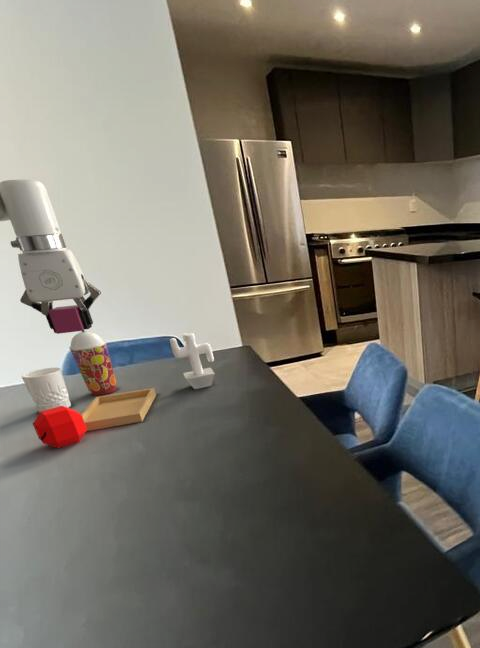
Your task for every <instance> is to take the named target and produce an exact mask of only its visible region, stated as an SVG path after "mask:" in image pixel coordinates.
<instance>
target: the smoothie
mask: <svg viewBox="0 0 480 648" xmlns="http://www.w3.org/2000/svg"><path fill="white" fill-rule="evenodd" d="M69 350H70V352H71V354H72V357H73V359H74V361H75V363H76V365H77V368H78V370H79V372H80V374H81V377H82V379H83V382H84V383H85V386H86V388H87V390H88V392H90V393H91V395H93V396H105V395H109V394H111V393H113V392H115V391H116V390H117V386H118V383H117V380H116V375H115V372H114V368H113V364H112V360H111V357H110V356H111V355H110V353H109V349H108V345H107V341H106V340H104V339H103V337H101V335H100V334H98V333H96V332H93V331H88V330H87V331H86V330H83V331H79V332H78V333H76V334H75V335H74V336H73V337H72V338H71V340H70V346H69Z"/></svg>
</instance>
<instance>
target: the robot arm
mask: <svg viewBox="0 0 480 648" xmlns="http://www.w3.org/2000/svg"><path fill="white" fill-rule="evenodd" d="M55 213H56V212H55V210H54V208H53V205H52V202H51V199H50V197H49V193H48V191H47V188H46V186H45V184H43V183H42V182H41V181H39V180H37V179H6V180H2V181H0V222H6V221H10V223H11V226H12V229H13V231H14V235H15V236H16V237H15V240H10V246H11V247H12V248H13V249H15V248H16V249H19V251H20V252H21V253H17V259H18V265H19V270H20V273H21V277H22V281H23V284H24V288H25V290H24V292H23V294H22V296H21V297H20V300H19V301H20V303H21V304H24V305H26V306H28V307H31V309H34V310H35V311H38V312H39V313H41V315H43V316H45V318H46V321H47V323H48V326H49V328H50V329H51V330H53V333H54V334H57V333H56V331H55V328H54V325H53V323H52V320H51V317H50V315H49V312H48V311H50V310H52V309H54V302H57V301H66V300H73V301H74V303H75V305H77V306H78V307H79V308H80V312H79V315H80V318H81V321H82V324H83V326H84V329H85V330H89V329H91V328H92V327H93V324H94V321H93V318H92V315H91V311H90V308H91V307H92V306H93V304H94V302H95V301H96V300H97V299H98V298H99V297H100V296H101V295H102V291H101V290H99V289H98V288H97V287H96V286H94V285H92V284H91V283H90V282H88V281H87V280H86V278H85V275H84V272H83V270H82V268H81V265H80V264H79V262H78V260H77V258H76V256H75V255H74V253H73V251H72V250H71V249H68V248H67V246H66V242H65V240H64V237H63V234H62V231H61V229H60V225H59V223H58V220H57V216H56V214H55ZM89 293H90V295H88V294H89ZM86 295H88V297H86V298H85V296H86Z"/></svg>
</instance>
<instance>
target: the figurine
mask: <svg viewBox="0 0 480 648" xmlns="http://www.w3.org/2000/svg"><path fill="white" fill-rule="evenodd" d="M182 339H183V341H184V343H185V346H181V347H180V345H179V344H178V341H177V339H176V338H175V337H171V338H170V339H169V344H170V348H171V351H172V353H173V356H174V357H175V358H177V359H182V358H189V361H190V365H191V369H192V370H191V371H187V372H182V374H183V376H184V379H185V380H186V381H187V382H188V384H189V385H190V386H191V387H192V388H193V389H194V390H198V389H203V388H207V387H212V385H213V381H214V378H215V372H214V370H213V369H212V368H211V367H206V368H203V366H202V362H201V358H200V355H204V354H205V355H206V359H207V361H208V362H209V363H213V362H214V361H215V358H214V354H213V350H212V346H211V344H210V343H208V342H203V343H198V344H197V343H196V336H195V333H194V332H191V331H190V332H184V333H183V334H182Z"/></svg>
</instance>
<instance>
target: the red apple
mask: <svg viewBox="0 0 480 648" xmlns="http://www.w3.org/2000/svg"><path fill="white" fill-rule="evenodd" d="M81 414H82V413H80V412H79V411H78V410H75V409H72V408H70V407H69V408H67V407H65V406H59V407H56V408H52V409H48V410H44V411H41V412H39V413H38V415H37V416H36V418H35V420H34V421H33V422H32V426H33V427H34V431H35V433H36V435H37V437H38V439H39V440H40V441H41V443H42V444H44V445H47V446H50V447H53V448H57V449H60V448H64V447H67V446H70V445H73V444H77V443H80V442H81V440H82V439H83V437H84V435H85V434H86V432H88V431H87V428H86V425H85V422H84V420H83V417H82V415H81Z"/></svg>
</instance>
